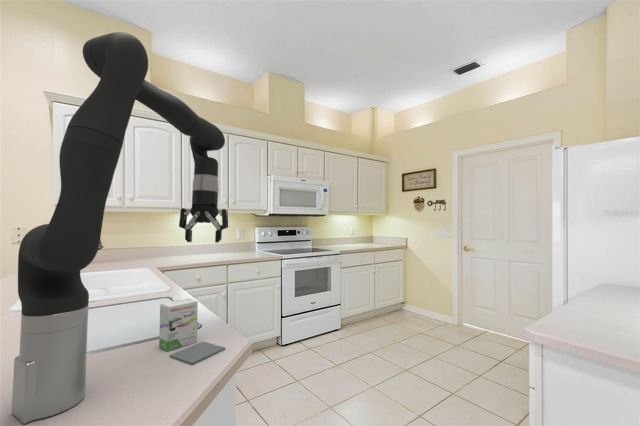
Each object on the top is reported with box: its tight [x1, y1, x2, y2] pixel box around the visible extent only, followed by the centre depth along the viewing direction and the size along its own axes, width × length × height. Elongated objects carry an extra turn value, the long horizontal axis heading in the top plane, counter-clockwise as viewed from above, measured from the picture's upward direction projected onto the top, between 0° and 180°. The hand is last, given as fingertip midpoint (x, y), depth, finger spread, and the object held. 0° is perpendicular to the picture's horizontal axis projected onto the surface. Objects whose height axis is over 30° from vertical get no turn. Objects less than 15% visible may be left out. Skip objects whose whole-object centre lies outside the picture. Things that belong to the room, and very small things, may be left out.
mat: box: [169, 341, 226, 366], centre depth 74 cm, size 10×9×1 cm
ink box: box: [158, 297, 199, 352], centre depth 80 cm, size 8×5×12 cm, turn 140°
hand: (203, 242), depth 89 cm, fingers open, 8 cm apart
